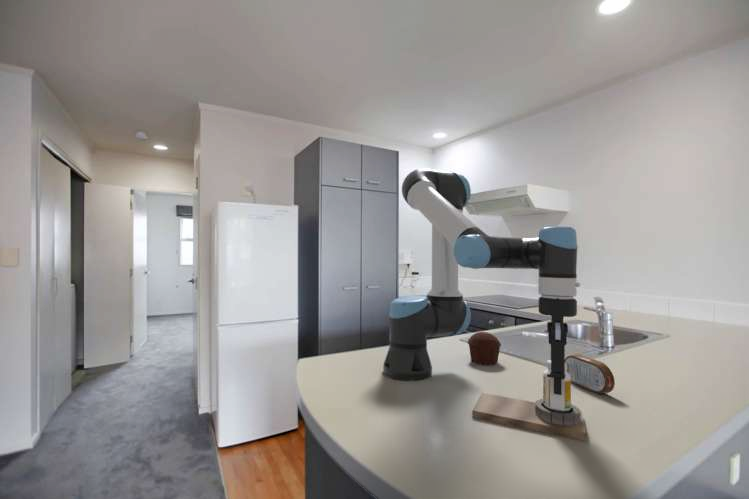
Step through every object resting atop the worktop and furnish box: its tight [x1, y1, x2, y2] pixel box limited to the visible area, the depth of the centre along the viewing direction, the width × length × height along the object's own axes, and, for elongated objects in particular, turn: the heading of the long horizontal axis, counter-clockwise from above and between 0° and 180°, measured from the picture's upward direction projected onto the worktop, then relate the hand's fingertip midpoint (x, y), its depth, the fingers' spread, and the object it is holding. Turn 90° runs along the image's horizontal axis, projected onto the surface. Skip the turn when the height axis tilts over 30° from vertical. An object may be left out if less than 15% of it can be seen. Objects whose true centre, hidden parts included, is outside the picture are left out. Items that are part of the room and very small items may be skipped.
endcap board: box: [471, 392, 587, 442], centre depth 79 cm, size 22×12×4 cm, turn 64°
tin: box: [565, 353, 616, 395], centre depth 99 cm, size 15×3×8 cm, turn 15°
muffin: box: [467, 331, 502, 366], centre depth 123 cm, size 12×11×10 cm
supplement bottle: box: [542, 359, 572, 411], centre depth 77 cm, size 5×5×10 cm
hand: (556, 403), depth 77 cm, fingers closed on supplement bottle, 5 cm apart
